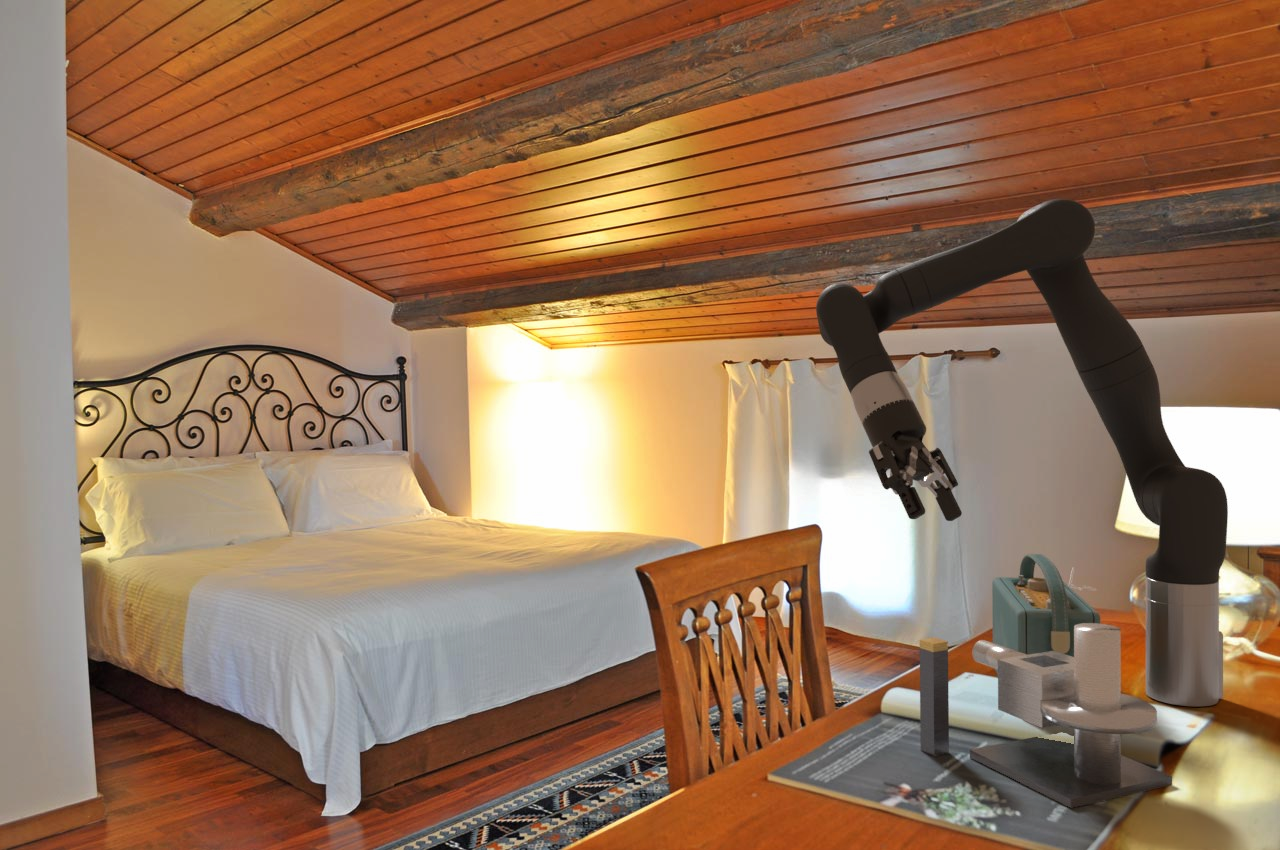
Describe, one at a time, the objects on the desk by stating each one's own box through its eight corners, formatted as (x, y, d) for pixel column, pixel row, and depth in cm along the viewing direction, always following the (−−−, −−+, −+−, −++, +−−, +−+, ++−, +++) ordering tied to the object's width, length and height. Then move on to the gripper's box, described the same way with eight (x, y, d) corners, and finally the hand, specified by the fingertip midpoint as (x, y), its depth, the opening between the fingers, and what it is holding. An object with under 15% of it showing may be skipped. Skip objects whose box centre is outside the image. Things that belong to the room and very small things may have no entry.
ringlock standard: (1026, 723, 133) (1026, 590, 133) (1191, 793, 110) (1192, 632, 109) (935, 740, 128) (934, 601, 127) (1089, 817, 105) (1088, 648, 104)
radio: (1104, 724, 132) (1104, 576, 132) (1019, 721, 135) (1018, 574, 134) (1062, 669, 158) (1062, 544, 157) (991, 667, 160) (990, 543, 159)
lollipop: (1088, 638, 176) (1088, 571, 176) (1035, 629, 183) (1035, 564, 182) (1101, 631, 180) (1101, 566, 180) (1049, 623, 187) (1049, 560, 187)
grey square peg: (935, 746, 126) (934, 637, 125) (948, 752, 124) (948, 641, 123) (920, 750, 125) (919, 639, 124) (934, 756, 123) (933, 644, 122)
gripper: (876, 392, 129) (928, 502, 122) (937, 403, 138) (989, 505, 131) (835, 422, 134) (883, 529, 127) (897, 430, 143) (944, 531, 136)
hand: (937, 517), depth 129 cm, fingers open, 8 cm apart
